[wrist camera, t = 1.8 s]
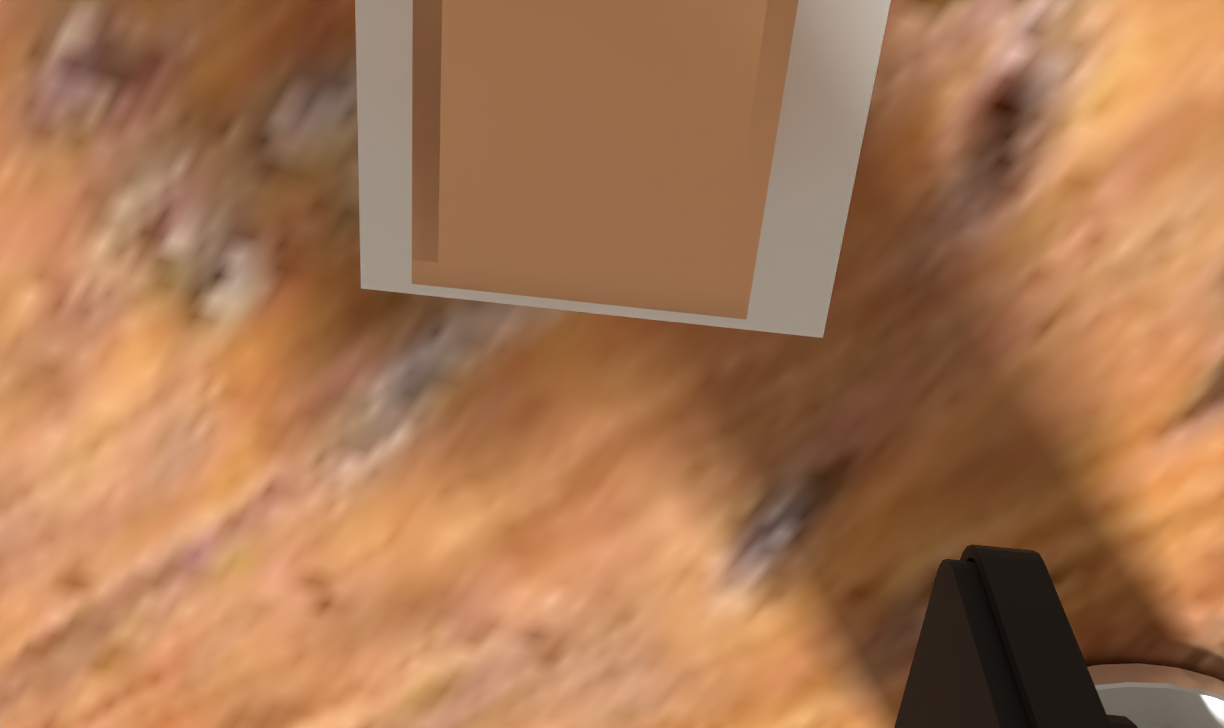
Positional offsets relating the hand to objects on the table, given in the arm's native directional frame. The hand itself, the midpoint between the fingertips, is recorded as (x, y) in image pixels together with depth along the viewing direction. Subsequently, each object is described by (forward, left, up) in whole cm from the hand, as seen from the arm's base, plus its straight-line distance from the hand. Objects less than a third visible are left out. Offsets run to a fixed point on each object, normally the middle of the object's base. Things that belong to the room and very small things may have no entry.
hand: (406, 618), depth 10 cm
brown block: (-1, 0, -19) cm, 19 cm away
